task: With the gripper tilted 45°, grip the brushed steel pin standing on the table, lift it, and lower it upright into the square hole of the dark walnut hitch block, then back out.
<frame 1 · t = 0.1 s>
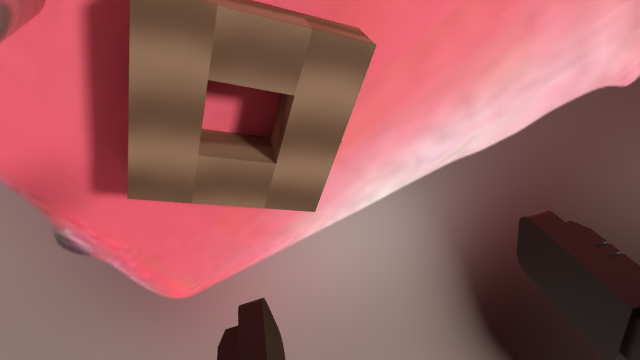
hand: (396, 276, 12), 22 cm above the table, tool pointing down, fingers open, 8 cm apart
hitch block: (241, 101, 31), on the table
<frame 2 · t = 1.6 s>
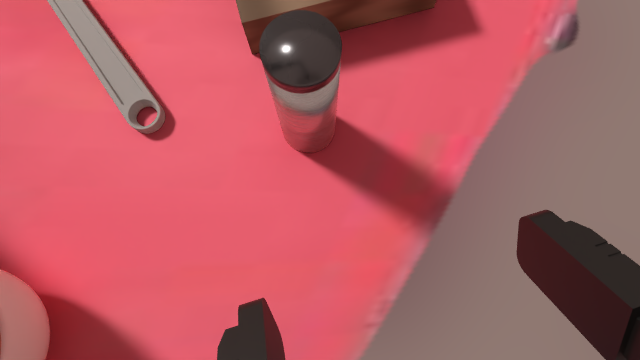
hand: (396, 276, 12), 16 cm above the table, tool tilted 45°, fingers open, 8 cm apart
steel pin: (308, 127, 29), on the table
lidded jar: (6, 339, 26), on the table
adjustable wrench: (73, 23, 32), on the table
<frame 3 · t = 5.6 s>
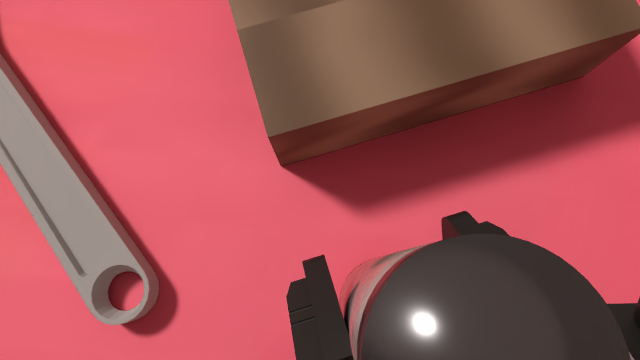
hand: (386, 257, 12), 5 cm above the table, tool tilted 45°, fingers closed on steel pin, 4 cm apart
steel pin: (385, 304, 16), on the table, touching gripper
adjustable wrench: (4, 115, 19), on the table
when the fingers open (7 cm above the table, at t = 11.3 s): steel pin drops 2 cm, resting in hitch block.
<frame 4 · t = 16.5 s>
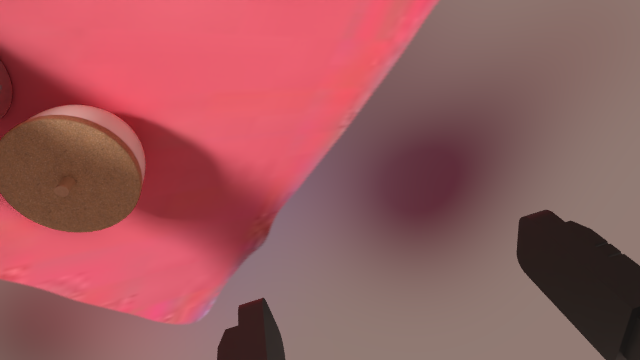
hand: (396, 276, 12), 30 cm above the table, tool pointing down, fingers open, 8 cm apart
lidded jar: (98, 141, 38), on the table
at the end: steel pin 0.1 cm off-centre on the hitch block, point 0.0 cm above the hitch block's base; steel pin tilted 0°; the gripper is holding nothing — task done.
